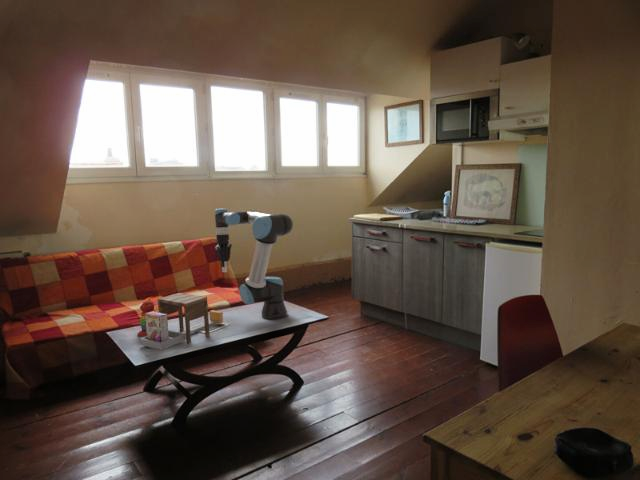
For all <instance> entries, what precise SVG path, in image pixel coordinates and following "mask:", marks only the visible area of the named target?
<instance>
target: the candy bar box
mask: <svg viewBox="0 0 640 480" xmlns="http://www.w3.org/2000/svg"><path fill="white" fill-rule="evenodd" d="M154 311H155V310H154ZM154 311H152V312H148V313H146V314H145V320H146V331H147V339H148V340H152V341H156V342H160V343H161V342H164V341H166V340H169V339H170V337H169V332H168V330H169V324H168V323H169V322H168V315H167V314H163V313H159V311H158V312H157V311H155V312H154Z"/></svg>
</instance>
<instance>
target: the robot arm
mask: <svg viewBox="0 0 640 480" xmlns="http://www.w3.org/2000/svg"><path fill="white" fill-rule="evenodd" d="M214 219H215V220H214V221H215V233H216V236H215V237H216V241H217V243H216V244H217V245H216V246H214V250H215V253H216V255H217V256H216V257H217V261H218V262H220V263H221V264H220V265H221V270H222V271H221V272H222V273H227V272H228V262H229V260H230V259H231V249H232V247H233V245H232V243H229V240H230V235H229V233H230V231H229V226H237V225H244V224H246V225H247V224H249V225H251V231H252V235H253V236H254V239H255V241H256V243H255V248H254V253H253V257H252V260H251V261H252V262H251V267H250V272H249V275H248V276H247V277H246V278H245V280H244V281H245V282H244V283H243V284H241V285H240V286H239V289H238V291H239V296H240V299H241V301H242V302H243V303H244V304H246V305H254V304H257V303H261V302H263V305H262V309H261V318H263V319H264V320H280V319H283V318H286V317H287V316H288V310H287V307H286V305H285V299H284V281H283V278H281V277H279V276H266V273H267V271H268V270H267V269H268V265H269V260H270V257H271V252H272V249H273V248H272V247H273V245H274V244H276V242H277V239H278V237H282V236H286V235H288V234H289V233H291V231H292V230H293V227H294V223H293V219H292V218H291V217H290V216H289V215H287V214H284V213H281V214H279V213H278V214H270V213H263V212H258V211H256V210H245V211H231V212H230V211H229V212H228V209H227V208H225V207H224V208H216V209H215V210H214Z"/></svg>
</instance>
